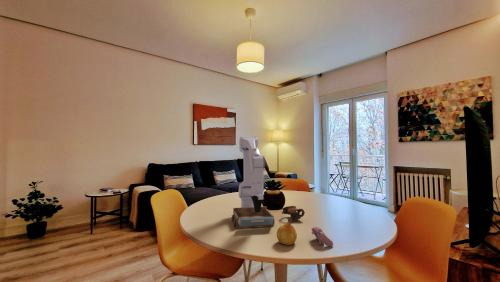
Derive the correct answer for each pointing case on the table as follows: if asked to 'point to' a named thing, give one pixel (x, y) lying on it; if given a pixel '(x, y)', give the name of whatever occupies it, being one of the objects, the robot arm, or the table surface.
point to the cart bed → (249, 216)
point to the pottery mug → (293, 213)
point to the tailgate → (256, 221)
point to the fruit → (286, 234)
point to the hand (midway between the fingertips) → (257, 212)
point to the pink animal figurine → (321, 236)
